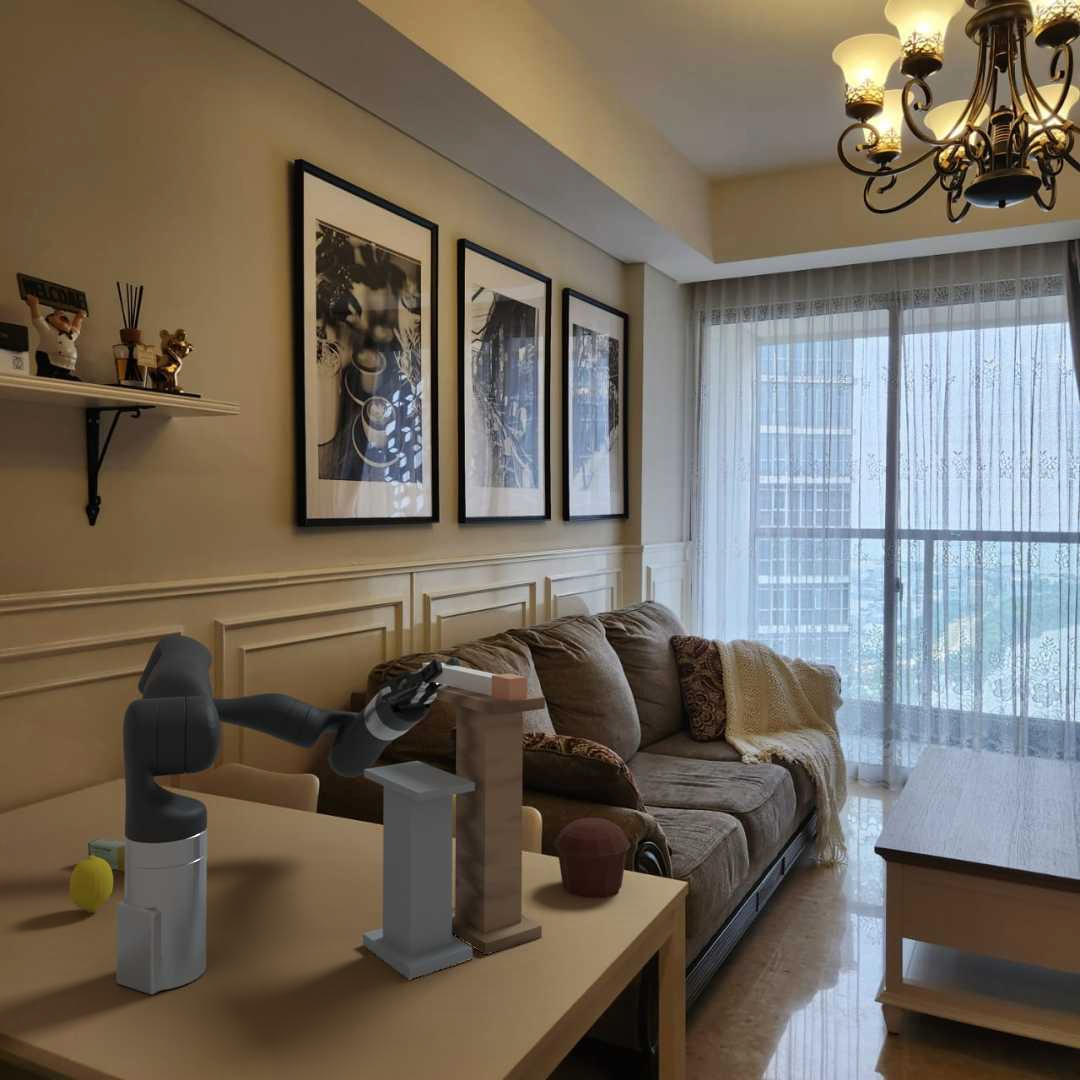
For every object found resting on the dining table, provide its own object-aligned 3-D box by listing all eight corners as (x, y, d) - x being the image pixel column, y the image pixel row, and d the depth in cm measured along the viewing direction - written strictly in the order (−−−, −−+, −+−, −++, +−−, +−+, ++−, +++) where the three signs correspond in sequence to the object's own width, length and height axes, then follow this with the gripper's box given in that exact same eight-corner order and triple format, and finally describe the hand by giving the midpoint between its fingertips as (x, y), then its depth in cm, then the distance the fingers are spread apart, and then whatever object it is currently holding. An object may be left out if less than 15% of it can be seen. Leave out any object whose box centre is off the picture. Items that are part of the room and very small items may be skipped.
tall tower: (432, 921, 128) (433, 689, 127) (485, 905, 133) (487, 683, 133) (490, 958, 116) (491, 703, 116) (546, 939, 122) (548, 696, 122)
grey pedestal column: (359, 942, 121) (360, 769, 121) (419, 925, 126) (420, 760, 126) (413, 983, 110) (415, 793, 110) (476, 962, 115) (478, 781, 115)
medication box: (86, 867, 148) (86, 842, 148) (100, 861, 151) (99, 836, 151) (146, 877, 144) (146, 851, 144) (159, 870, 147) (159, 845, 147)
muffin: (611, 869, 148) (611, 807, 148) (643, 894, 138) (644, 827, 138) (542, 879, 144) (542, 815, 144) (570, 906, 133) (570, 836, 133)
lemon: (120, 905, 132) (121, 849, 132) (98, 921, 127) (99, 863, 127) (84, 903, 133) (84, 848, 133) (60, 919, 127) (60, 861, 127)
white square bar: (421, 679, 136) (421, 660, 136) (437, 677, 138) (437, 659, 138) (509, 700, 119) (509, 679, 119) (526, 698, 120) (527, 677, 120)
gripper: (350, 690, 142) (399, 643, 130) (428, 682, 151) (481, 637, 139) (361, 737, 139) (412, 693, 127) (440, 726, 148) (495, 684, 136)
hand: (448, 664), depth 133 cm, fingers closed on white square bar, 2 cm apart
